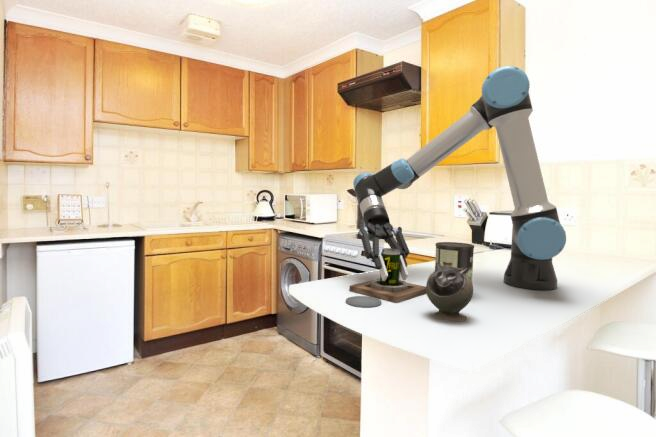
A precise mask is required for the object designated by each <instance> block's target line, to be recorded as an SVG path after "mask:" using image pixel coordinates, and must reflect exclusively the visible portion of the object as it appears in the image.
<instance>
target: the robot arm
mask: <svg viewBox="0 0 656 437" xmlns="http://www.w3.org/2000/svg"><path fill="white" fill-rule="evenodd" d="M530 85H531V84H530V80H529V77H528V75H527V73H526V72H525V71H524V70H523V69H521V68H520V67H516V66H513V65H505V66H501V67H497V68H496V69H494V70H492V71H491V72H490V73H489V74H488V75H487V77H486V78H485V80H484V81H483V83H482V86H481V96H480V97H479V98H478V100H477V101H475V102H474V103H473V104H471V105H470V107H469V111H468V112H466V113H465V114H464V115H462V116H461V117H460V118H459V119H457V120H456V121H455V122H454V123H452V124H451V125H450V126H449V127H447V128H446V129H444V130H443V131H442V132H441V133H439V134H438V135H437V136H436V137H434V138H433V139H431V140H430V141H429V142H428V143H427V144H425V145H424V146H423V147H421V148H420V149H418V151H416V152H415V153H413V154H412V155H411V156H410V157H408V158H407V159H405V158H404V157H402V158H400V159H397V160H395V161H392V163H391V164H389V165H387V166H386V167H384V168H382V169H381V170H379V171H378V172H376V173H374V174H373V173H370V172H364V173H359V174H358V175H356V176H355V178H354V180H353V188H354V194H355V197H356V199H357V202H358V206H359V208H360V213H361V215H362V217H363V219H362V220H363V223H364V226H365V227H363V226H360V227H359V230H358V232H357V234H358V236H359V237H360V239H361V243H362V246H363V250H364V254H365V255H364V256H365V259H367V260H371V262H373V263H374V267H375V269H376V270H379V273H380V274H381V277H382V281H385V280H386V279H387V277H388V273H387V270H386V267H385V263H384V260H383V257H382V256H381V255H380V240H384V242H385V243H387V244H388V246H389V248H392V249H399V250H400V276H401V279H402V281H406V279H407V278H408V277H409V272H408V269H407V267H408V263H407V262H408V261H407V258H408V256H409V254H410V249H409V248H408V244H407V242H406V239H405V237H404V235H403V228H402V227H401V226H398V227H395V226H393V225H392V224H391V221H390V218H389V214H388V212H387V209H386V206H385V203H384V201H383V196H385V195H387V194H389V193H391V192H393V191H394V190H396V189H397V190H405V189H406V190H407V189H408V188H410V187H411V186H412V185H413V183H414V182H416V181H417V180H418V179H420V178H421V177H422V176H424V175H425V174H427V172H429V171H430V170H431V169H433V168H434V167H435V166H437V165H438V164H439V163H441V162H442V161H443V160H445V159H447V158H448V157H449V156H450V155H451V154H453V153H455V152H456V151H457V150H459V149H460V148H461V147H463V146H464V145H465V144H466V143H468V142H469V141H471V140H472V139H473V138H475V137H476V136H477V135H479V134H480V133H482V132H483V131H484V130H485V131H486V130H488V131H489V130H490V129H492V128H493V127H494V128H495V130H496V134H497V139H498V142H499V148H500V151H501V156H502V159H503V164H504V168H505V172H506V177H507V180H508V184H509V189H510V194H511V198H512V202H513V206H514V209H513V211H512V213H511V214H510V218H511V222H512V223H511V224H512V229H511V230H512V231H511V248H510V259H509V261H508V264H507V267H506V268H505V269H506V270H505V271H504V274H503V283H505V284H506V285H509V286H511V287H512V286H513V287H516V288H522V289H528V290H540V291H546V290H547V291H548V290H549V291H550V290H555V289H558V278H557V275H556V274H557V273H556V272H555V268H554V267H555V266H554V265H553V264H554V263H553V258H555V257H556V256H558V255H560V253H561V252H562V251H563V250H564V249H565V247H566V242H567V234H566V230H565V229H564V226H562V224H561V221H560V218H559V214H558V210H557V206H556V205H554V204H553V203H551V202H550V201H549V200H548V195H547V190H546V187H545V183H544V182H545V181H544V177H543V175H542V171H541V166H540V162H539V156H538V153H537V148H536V143H535V141H534V136H533V132H532V126H531V123H530V120H529V118H530V116H531V115H532V112H533V111H534V109H533V105H532V101H531V97H530V96H531V95H530ZM368 234H369V235H370V236H371V242H370V239H369V238H370V237H369V235H368ZM371 243H372V246H371Z"/></svg>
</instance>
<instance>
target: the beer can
mask: <svg viewBox="0 0 656 437" xmlns="http://www.w3.org/2000/svg"><path fill="white" fill-rule="evenodd" d="M380 256H382V257H383V260H384V263H385V267H386V270H387V273H388V277H387V279H386V280H385V281H382V277H381V274H380V276H379V279H380V285H384V286H399V280H401V279H400V276H401V273H400V250H399V249H392V248H391V247H389V248H388V247H387V248H381V252H380Z"/></svg>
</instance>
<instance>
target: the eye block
mask: <svg viewBox="0 0 656 437" xmlns="http://www.w3.org/2000/svg"><path fill="white" fill-rule="evenodd" d="M348 290H349V292H352V293H357V294H360V295H363V296H368V297H374V298H377V299H379V300H383V301H386V302H387V301H388V302H391V303H395V304H396V303H398V304H399V303H401V302H404V301H407V300H410V299H413V298H416V297H419V296H423V295H425V294H426V295H427V293H426V285H421V284H415V283H411V282H407V281H406V280H401V279H399V286H384V285H380V278H376V279H371V280H368V281H364V282H359V283H356V284H351V285H349V289H348Z"/></svg>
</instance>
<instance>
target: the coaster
mask: <svg viewBox="0 0 656 437" xmlns="http://www.w3.org/2000/svg"><path fill="white" fill-rule="evenodd" d="M345 303H346V304H347V305H349V306H352V307H356V308H366V309H367V308H377V307H379V306H381V305H382V299H379V298H375V297H371V296H368V295H355V296H349V297H346V299H345Z"/></svg>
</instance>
